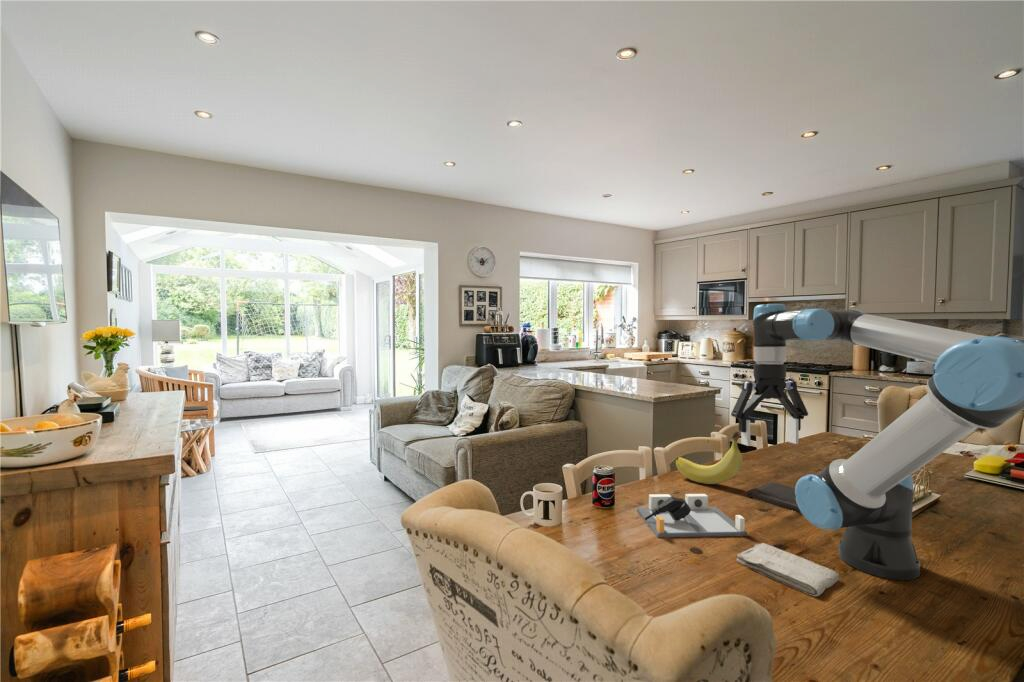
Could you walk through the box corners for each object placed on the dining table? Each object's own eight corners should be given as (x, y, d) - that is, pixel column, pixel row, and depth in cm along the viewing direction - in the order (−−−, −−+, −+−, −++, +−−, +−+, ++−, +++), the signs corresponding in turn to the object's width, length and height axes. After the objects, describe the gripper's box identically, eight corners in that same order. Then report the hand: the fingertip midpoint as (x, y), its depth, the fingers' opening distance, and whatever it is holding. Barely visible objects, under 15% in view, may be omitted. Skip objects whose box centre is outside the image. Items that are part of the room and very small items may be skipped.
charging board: (747, 535, 125) (747, 517, 125) (657, 537, 124) (657, 518, 123) (716, 510, 142) (716, 493, 142) (637, 511, 141) (637, 494, 140)
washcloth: (758, 550, 118) (759, 538, 118) (841, 582, 104) (842, 568, 103) (733, 564, 111) (733, 551, 111) (818, 601, 97) (818, 586, 96)
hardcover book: (772, 488, 163) (772, 481, 162) (849, 510, 143) (849, 503, 143) (746, 497, 154) (746, 490, 154) (824, 523, 135) (824, 515, 134)
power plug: (641, 512, 134) (677, 489, 133) (657, 534, 134) (693, 512, 133) (645, 521, 129) (682, 497, 127) (661, 544, 128) (699, 520, 127)
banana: (671, 478, 171) (673, 423, 170) (678, 474, 175) (679, 420, 174) (738, 493, 155) (739, 433, 155) (743, 489, 160) (745, 430, 159)
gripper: (802, 361, 130) (802, 439, 130) (717, 362, 127) (717, 442, 127) (823, 363, 122) (824, 445, 122) (733, 364, 119) (734, 448, 119)
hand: (769, 443), depth 125 cm, fingers open, 13 cm apart
